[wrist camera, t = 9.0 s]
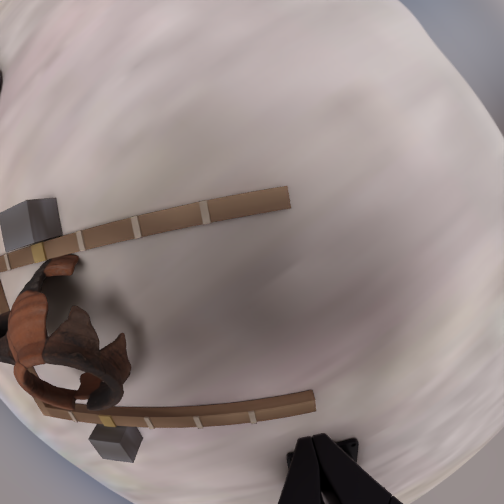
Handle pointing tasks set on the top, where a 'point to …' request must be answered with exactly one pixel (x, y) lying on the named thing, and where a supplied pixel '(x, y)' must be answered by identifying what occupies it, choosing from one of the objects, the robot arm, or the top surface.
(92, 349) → the brown broken pot
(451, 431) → the top surface
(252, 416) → the wooden u-shaped frame
